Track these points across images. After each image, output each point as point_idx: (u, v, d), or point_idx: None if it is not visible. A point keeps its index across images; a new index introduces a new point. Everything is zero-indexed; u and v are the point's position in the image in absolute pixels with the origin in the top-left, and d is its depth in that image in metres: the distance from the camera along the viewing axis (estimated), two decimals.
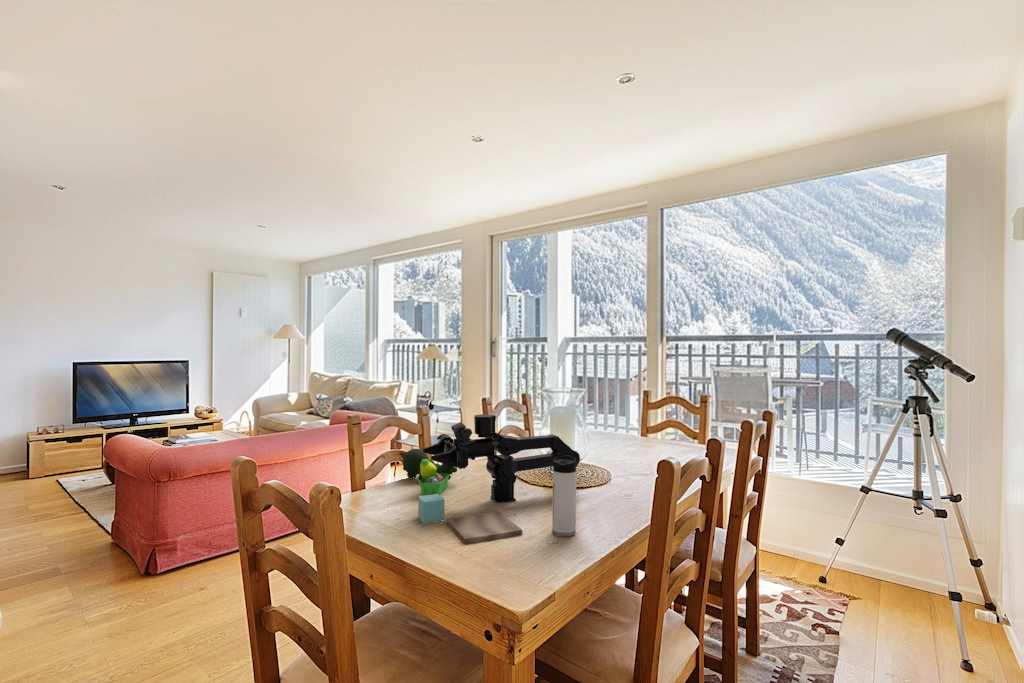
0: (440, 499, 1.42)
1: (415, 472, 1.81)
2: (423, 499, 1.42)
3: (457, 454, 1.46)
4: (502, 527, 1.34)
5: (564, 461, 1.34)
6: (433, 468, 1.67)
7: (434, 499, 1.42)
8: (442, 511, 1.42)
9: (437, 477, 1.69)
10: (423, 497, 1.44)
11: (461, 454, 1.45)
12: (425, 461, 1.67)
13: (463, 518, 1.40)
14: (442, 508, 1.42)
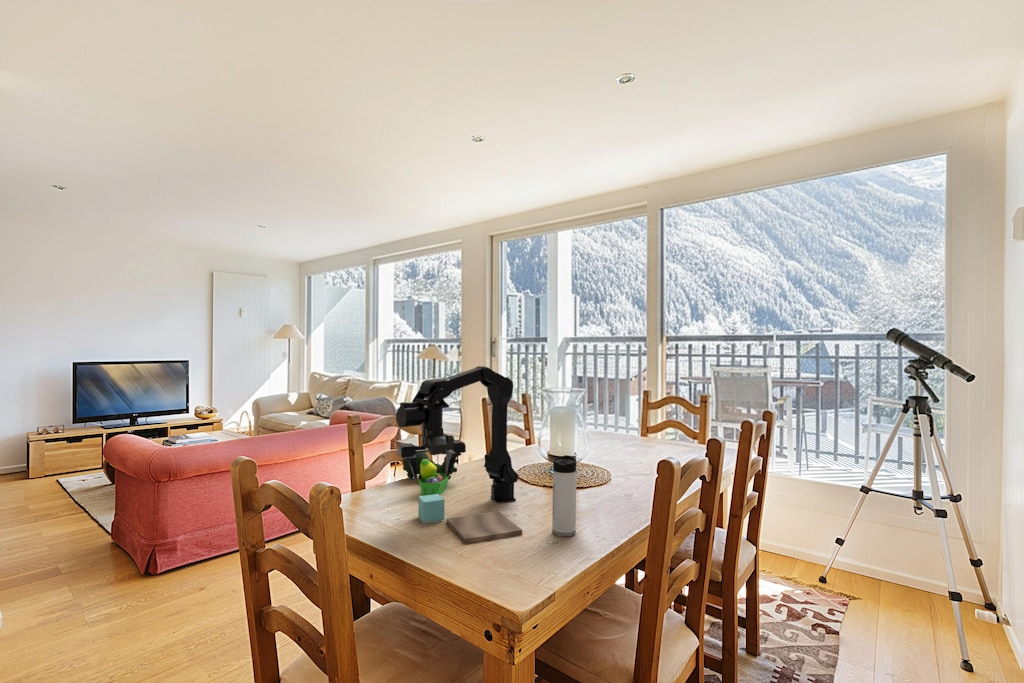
0: (440, 499, 1.42)
1: None
2: (423, 499, 1.42)
3: None
4: (502, 527, 1.34)
5: (564, 461, 1.34)
6: (433, 468, 1.67)
7: (434, 499, 1.42)
8: (442, 511, 1.42)
9: (437, 477, 1.69)
10: (423, 497, 1.44)
11: None
12: (425, 461, 1.67)
13: (463, 518, 1.40)
14: (442, 508, 1.42)
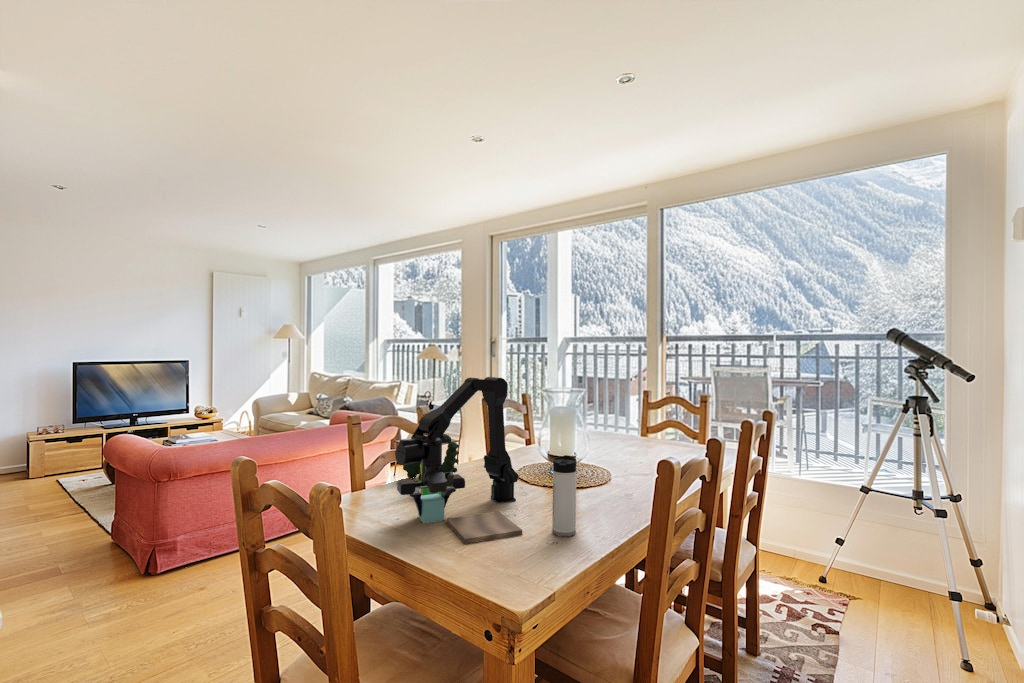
0: (440, 499, 1.42)
1: (415, 472, 1.81)
2: (423, 499, 1.42)
3: None
4: (502, 527, 1.34)
5: (564, 461, 1.34)
6: None
7: (434, 499, 1.42)
8: (442, 511, 1.42)
9: None
10: (423, 497, 1.44)
11: None
12: None
13: (463, 518, 1.40)
14: (442, 508, 1.42)
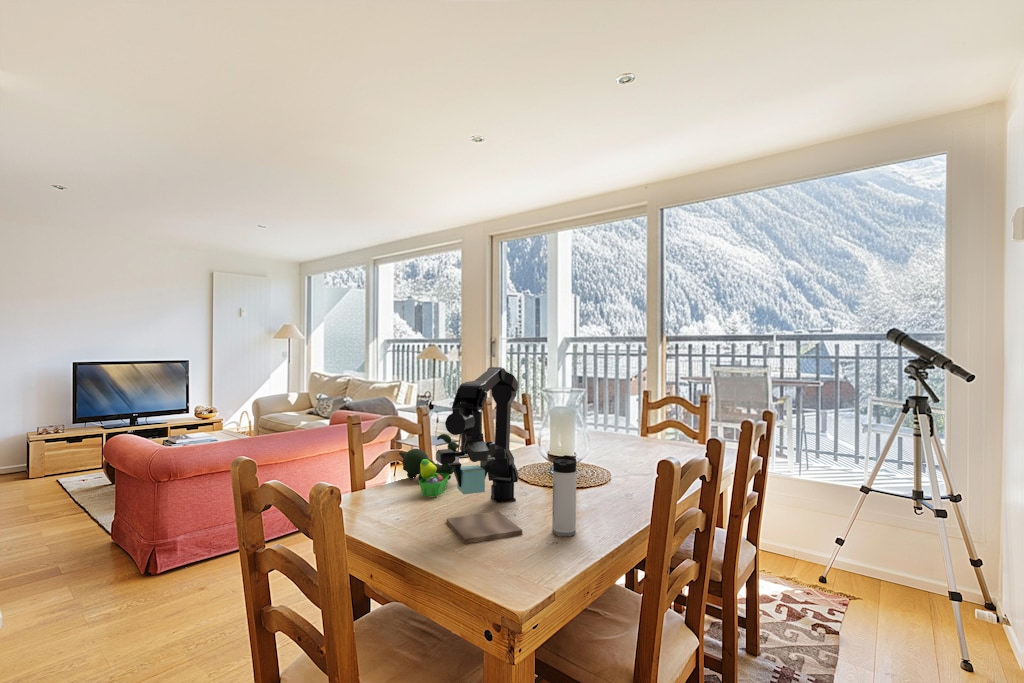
0: (480, 469, 1.36)
1: (415, 472, 1.81)
2: (463, 469, 1.36)
3: None
4: (502, 527, 1.34)
5: (564, 461, 1.34)
6: (433, 468, 1.67)
7: (474, 469, 1.36)
8: (482, 482, 1.36)
9: (437, 477, 1.69)
10: (462, 467, 1.38)
11: None
12: (425, 461, 1.67)
13: (463, 518, 1.40)
14: (482, 479, 1.36)
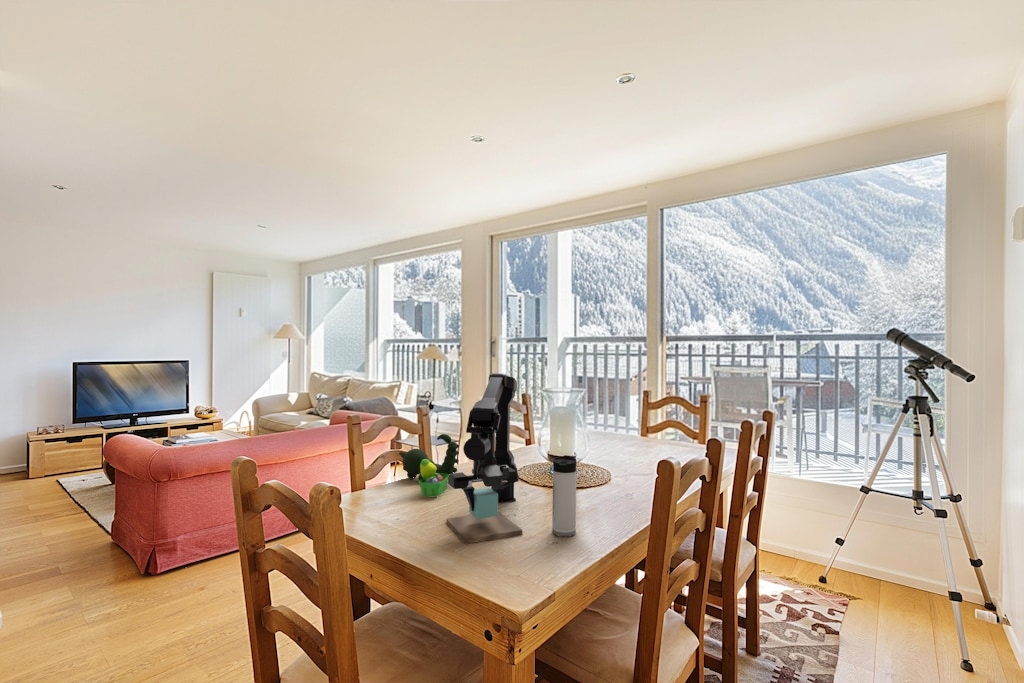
0: (493, 493, 1.35)
1: (415, 472, 1.81)
2: (475, 493, 1.35)
3: None
4: (502, 527, 1.34)
5: (564, 461, 1.34)
6: (433, 468, 1.67)
7: (487, 493, 1.35)
8: (496, 506, 1.34)
9: (437, 477, 1.69)
10: (475, 491, 1.36)
11: None
12: (425, 461, 1.67)
13: (463, 518, 1.40)
14: (496, 502, 1.34)
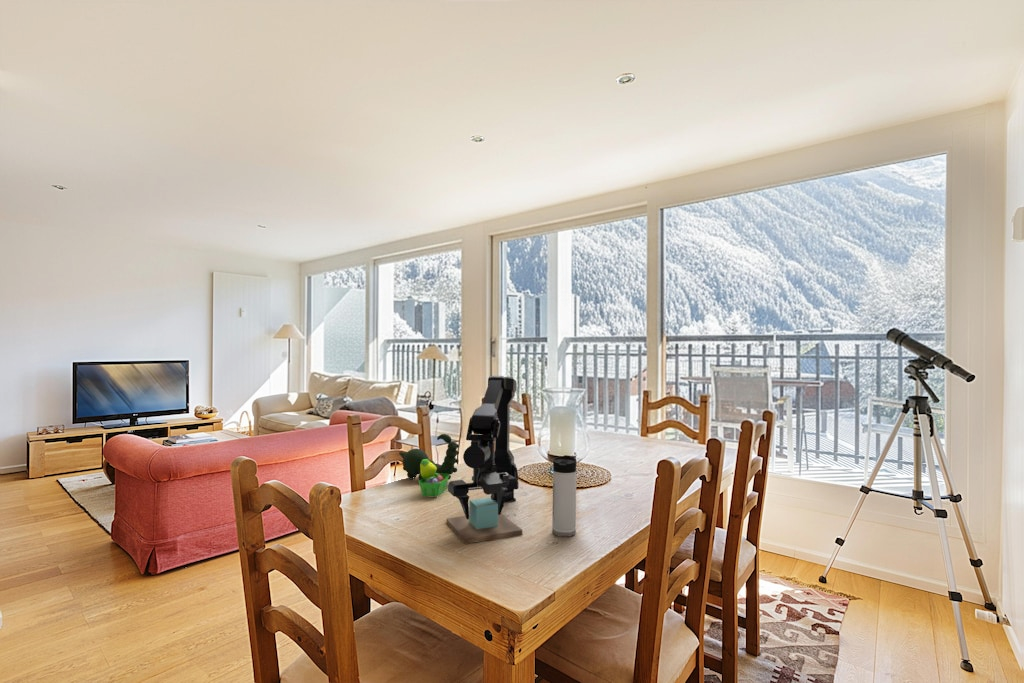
0: (493, 503, 1.35)
1: (415, 472, 1.81)
2: (475, 503, 1.34)
3: None
4: (502, 527, 1.34)
5: (564, 461, 1.34)
6: (433, 468, 1.67)
7: (487, 503, 1.35)
8: (495, 516, 1.34)
9: (437, 477, 1.69)
10: (475, 501, 1.36)
11: None
12: (425, 461, 1.67)
13: (463, 518, 1.40)
14: (495, 513, 1.34)
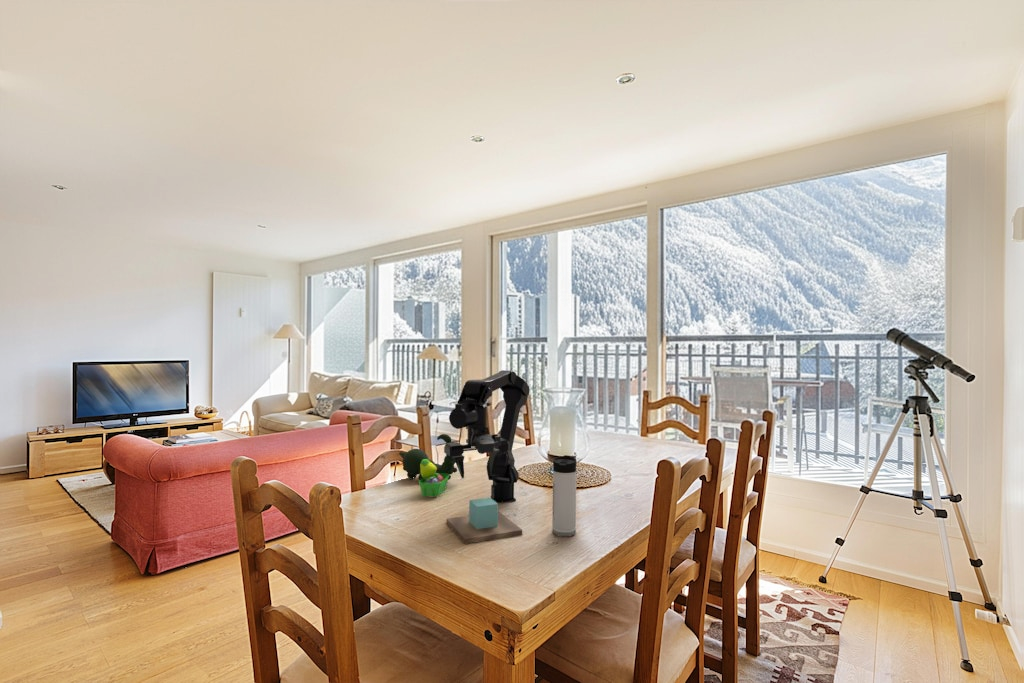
0: (493, 503, 1.35)
1: (415, 472, 1.81)
2: (475, 503, 1.34)
3: None
4: (502, 527, 1.34)
5: (564, 461, 1.34)
6: (433, 468, 1.67)
7: (487, 503, 1.35)
8: (495, 516, 1.34)
9: (437, 477, 1.69)
10: (475, 501, 1.36)
11: None
12: (425, 461, 1.67)
13: (463, 518, 1.40)
14: (495, 513, 1.34)
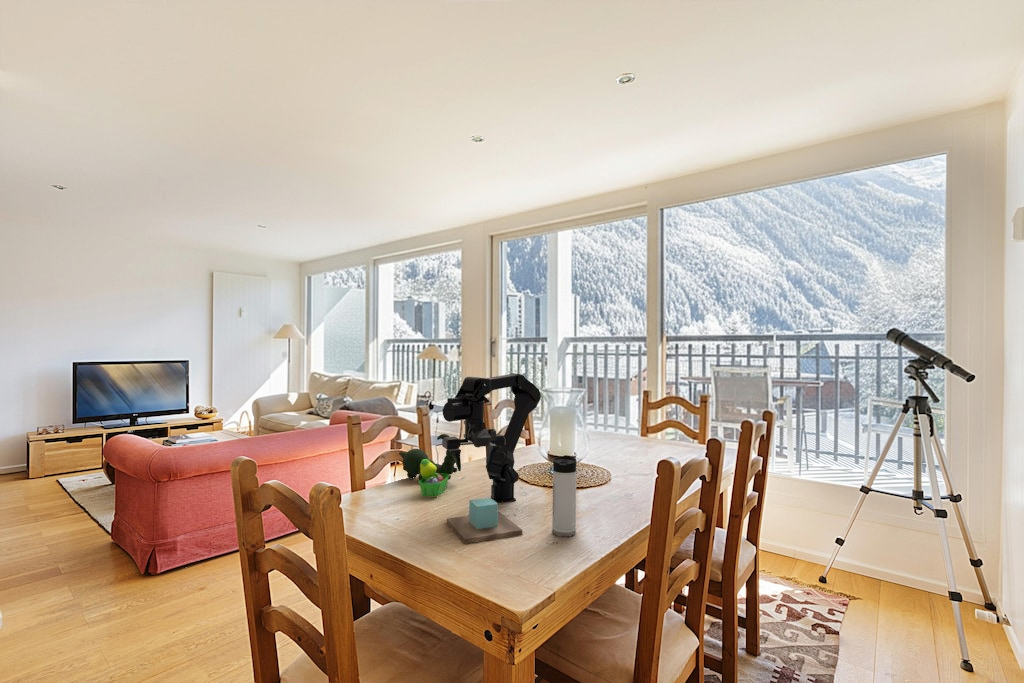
0: (493, 503, 1.35)
1: (415, 472, 1.81)
2: (475, 503, 1.34)
3: None
4: (502, 527, 1.34)
5: (564, 461, 1.34)
6: (433, 468, 1.67)
7: (487, 503, 1.35)
8: (495, 516, 1.34)
9: (437, 477, 1.69)
10: (475, 501, 1.36)
11: None
12: (425, 461, 1.67)
13: (463, 518, 1.40)
14: (495, 513, 1.34)
